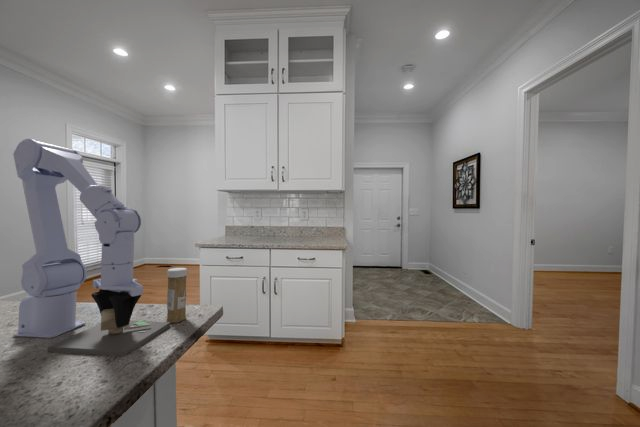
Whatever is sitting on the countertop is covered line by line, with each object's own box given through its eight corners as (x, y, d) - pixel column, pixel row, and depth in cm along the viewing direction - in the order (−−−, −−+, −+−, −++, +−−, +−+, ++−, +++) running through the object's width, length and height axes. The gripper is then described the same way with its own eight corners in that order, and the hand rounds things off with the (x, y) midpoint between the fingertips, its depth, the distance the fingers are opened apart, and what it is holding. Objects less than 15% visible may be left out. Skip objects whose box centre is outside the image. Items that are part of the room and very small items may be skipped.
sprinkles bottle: (187, 321, 68) (188, 269, 69) (166, 324, 66) (168, 271, 66) (184, 315, 72) (186, 266, 72) (165, 318, 70) (166, 267, 70)
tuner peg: (100, 336, 56) (100, 312, 56) (102, 331, 59) (103, 309, 59) (150, 328, 61) (150, 306, 61) (150, 324, 63) (151, 303, 63)
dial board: (47, 351, 52) (48, 345, 52) (109, 323, 66) (109, 318, 66) (124, 356, 51) (124, 349, 51) (170, 326, 65) (170, 321, 65)
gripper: (157, 262, 60) (155, 323, 59) (117, 258, 65) (115, 313, 65) (123, 268, 53) (121, 335, 53) (82, 262, 59) (80, 323, 59)
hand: (116, 324), depth 59 cm, fingers closed on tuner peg, 4 cm apart
